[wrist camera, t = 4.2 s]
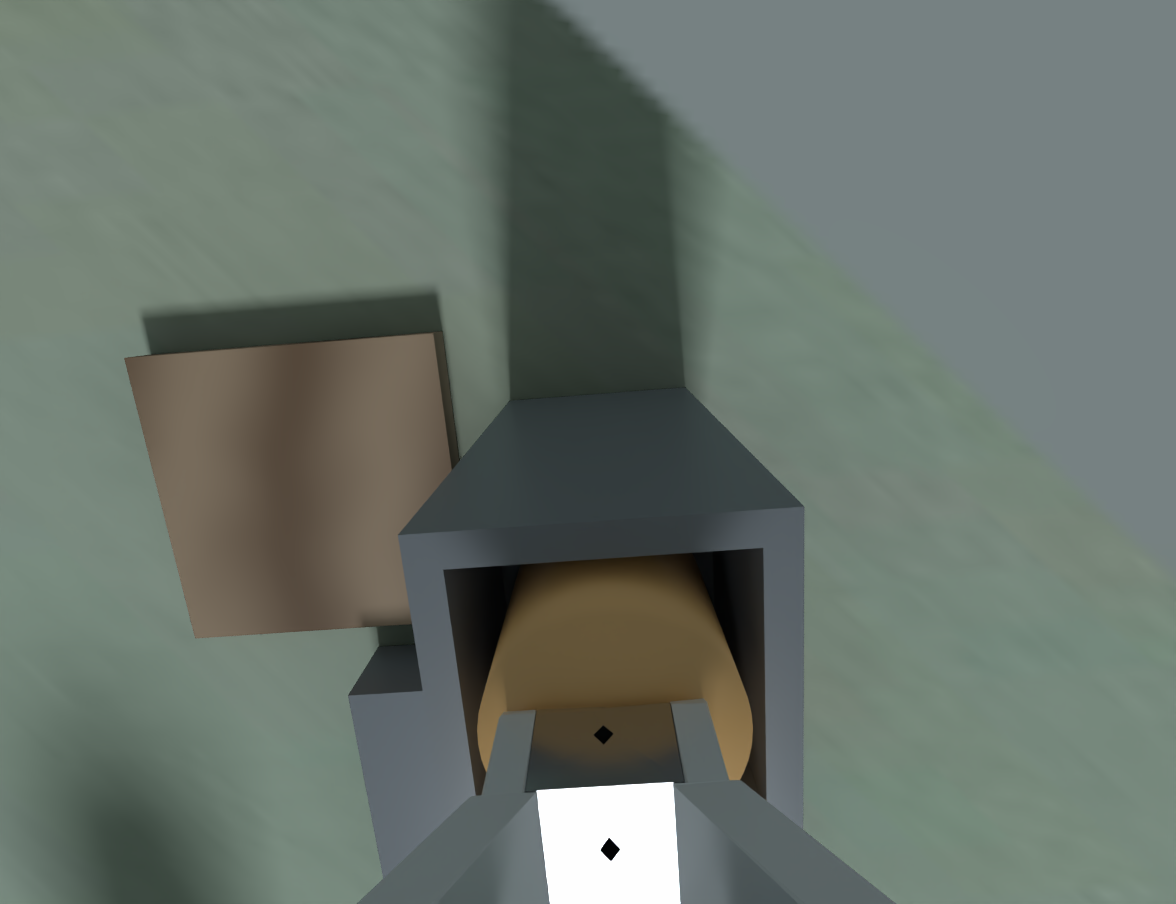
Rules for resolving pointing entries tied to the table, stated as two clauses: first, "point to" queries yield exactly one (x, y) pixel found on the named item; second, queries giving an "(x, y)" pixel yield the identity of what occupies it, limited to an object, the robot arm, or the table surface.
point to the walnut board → (295, 475)
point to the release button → (616, 646)
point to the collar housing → (396, 753)
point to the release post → (608, 530)
